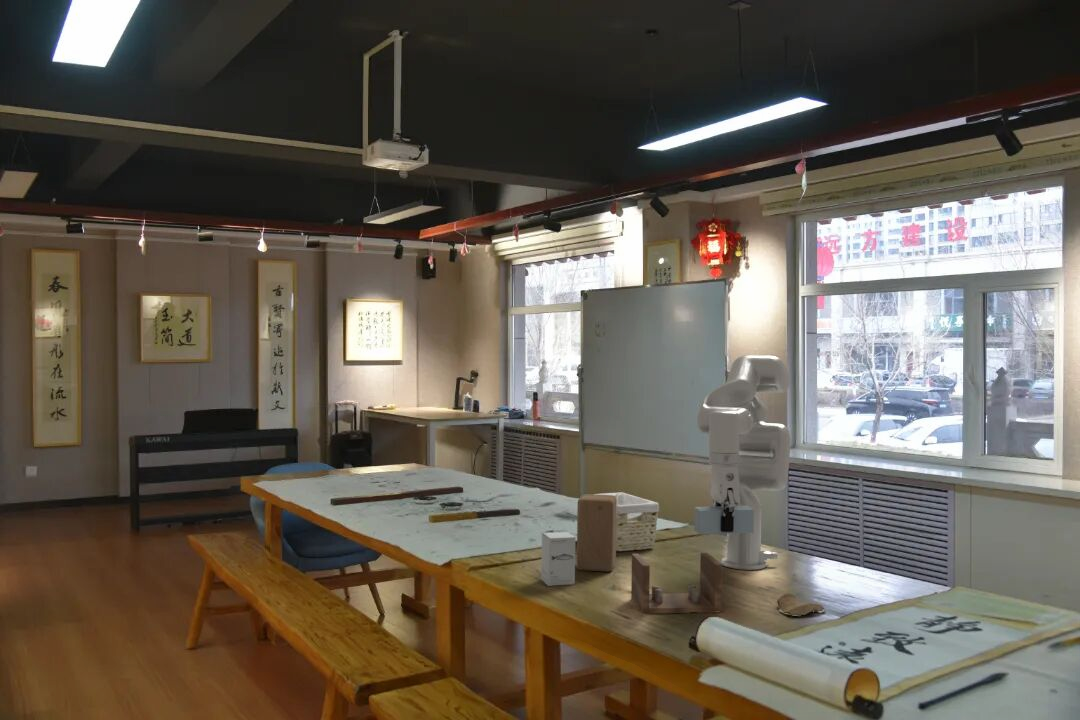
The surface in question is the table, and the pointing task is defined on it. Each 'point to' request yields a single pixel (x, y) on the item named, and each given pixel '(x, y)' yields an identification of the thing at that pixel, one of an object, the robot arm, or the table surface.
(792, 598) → the pottery shard
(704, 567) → the peg frame
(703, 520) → the grey rectangular block
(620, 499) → the storage basket
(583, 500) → the wooden block
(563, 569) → the supplement box
